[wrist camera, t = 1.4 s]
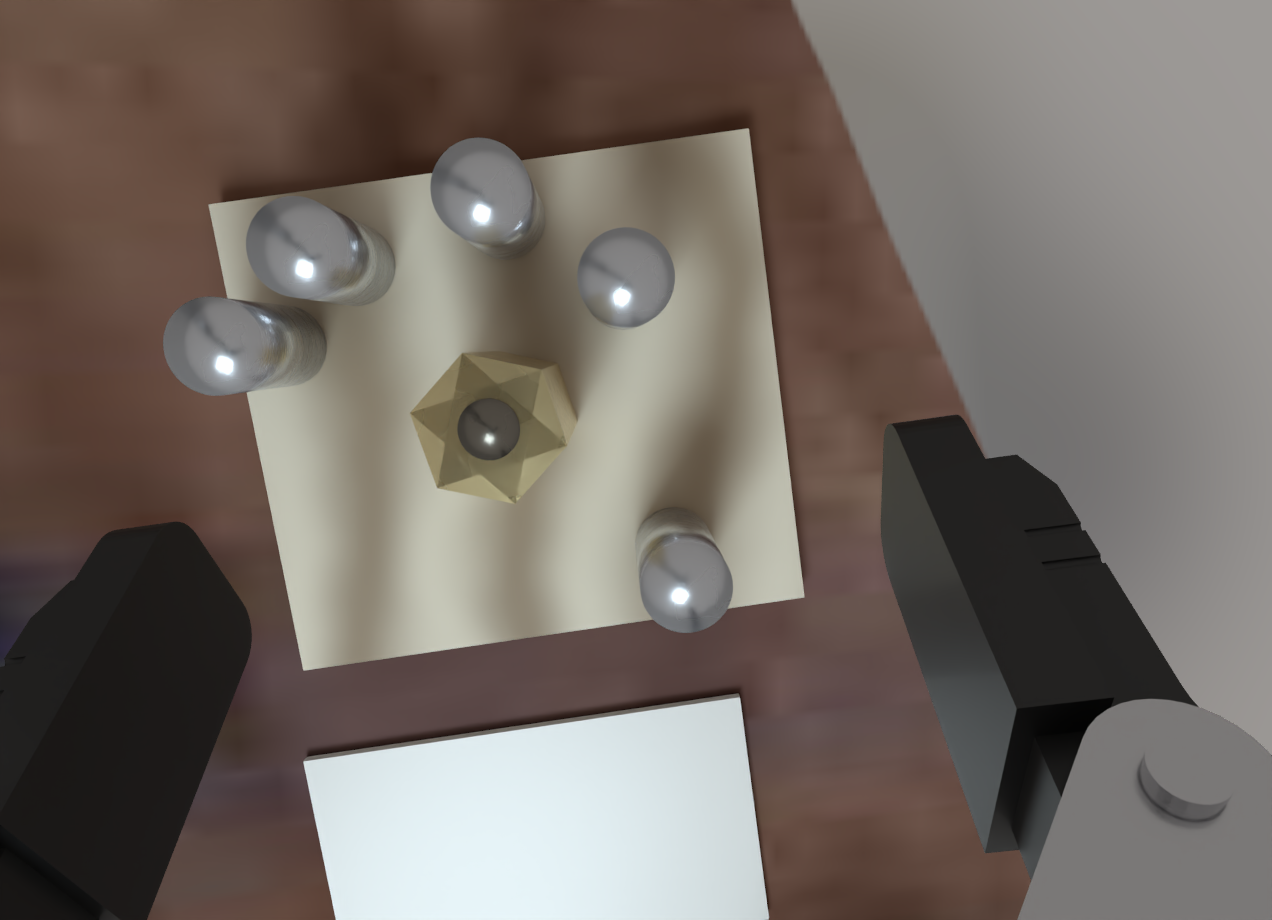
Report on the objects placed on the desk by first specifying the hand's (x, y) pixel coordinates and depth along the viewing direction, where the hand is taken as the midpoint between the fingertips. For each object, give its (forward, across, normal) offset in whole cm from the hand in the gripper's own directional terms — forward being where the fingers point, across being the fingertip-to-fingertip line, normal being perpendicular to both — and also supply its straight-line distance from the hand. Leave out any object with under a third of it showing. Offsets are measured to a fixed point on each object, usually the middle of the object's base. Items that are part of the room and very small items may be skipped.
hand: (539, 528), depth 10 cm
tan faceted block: (+19, +5, +12) cm, 23 cm away
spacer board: (+20, +5, +12) cm, 24 cm away
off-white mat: (+11, +7, +28) cm, 30 cm away
